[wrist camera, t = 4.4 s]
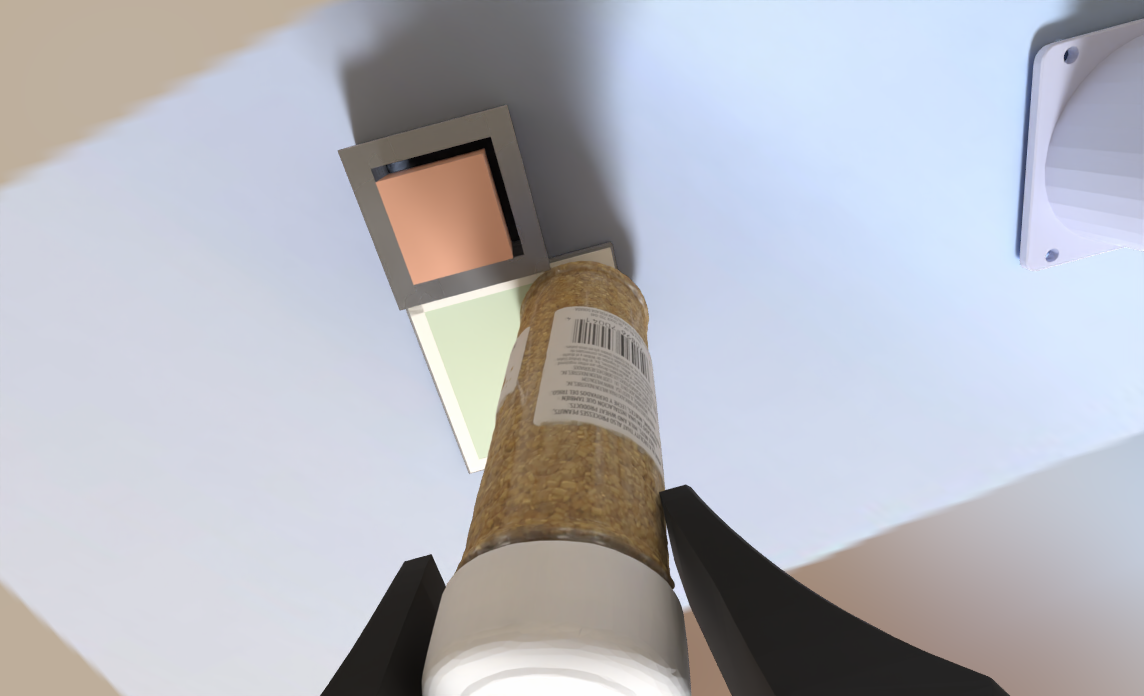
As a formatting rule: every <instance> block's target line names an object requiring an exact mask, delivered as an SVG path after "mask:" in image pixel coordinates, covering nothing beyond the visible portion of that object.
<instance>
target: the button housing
mask: <svg viewBox="0 0 1144 696" xmlns="http://www.w3.org/2000/svg"><path fill="white" fill-rule="evenodd" d="M488 137H491V139H492V143H493V146H494V150H495V153H496V157H497V160H498V164H499V167H500V171H501V174H502V178H503V181H504V185H505V188H506V192H507V195H508V199H509V203H510V206H511V210H512V213H513V217H514V220H515V224H516V227H517V231H518V234H519V238H520V240H518V241H514V242H512V249H513V258H512V259H508V260H505V261H501V262H497V263H494V264H490V265H486V266H482V267H479V268H475V269H471V270H467V271H464V272H460V273H456V274H453V275H449V276H445V277H441V278H438V279H434V280H430V281H427V282H423V283H419V284H415V285H414V284H413V282H412V279H411V276H410V274H409V271H408V268H407V266H406V263H405V260H404V257H403V255H402V252H401V249H400V247H399V244H398V241H397V239H396V236H395V233H394V231H393V228H392V225H391V222H390V220H389V217H388V214H387V212H386V209H385V206H384V204H383V201H382V198H381V196H380V193H379V190H378V187H377V185H376V182H377V181H378V180H380V179H381V178H383V177H384V176H386V175H388V174H389V173H388V170H387V167H386V165H387V164H391V163H394V162H398V161H402V160H406V159H409V158H413V157H417V156H420V155H424V154H428V153H432V152H435V151H439V150H443V149H447V148H450V147H454V146H458V145H462V144H465V143H469V142H473V141H476V140H480V139H484V138H488ZM338 153H339V155H340V158H341V161H342V163H343V166H344V168H345V171H346V173H347V176H348V179H349V181H350V184H351V186H352V189H353V191H354V194H355V197H356V199H357V202H358V204H359V207H360V209H361V212H362V215H363V217H364V220H365V222H366V225H367V227H368V230H369V233H370V235H371V238H372V240H373V243H374V245H375V248H376V251H377V253H378V256H379V258H380V261H381V263H382V266H383V269H384V271H385V274H386V276H387V279H388V281H389V284H390V287H391V289H392V292H393V294H394V297H395V299H396V302H397V305H398V307H399V310H404V309H407V308H411V307H415V306H418V305H422V304H426V303H430V302H433V301H437V300H441V299H444V298H448V297H452V296H456V295H459V294H463V293H467V292H470V291H474V290H478V289H482V288H485V287H489V286H493V285H496V284H500V283H504V282H508V281H511V280H515V279H519V278H522V277H526V276H530V275H534V274H537V273H541V272H545V271H548V270H551V266H550V263H549V259H548V255H547V251H546V248H545V244H544V240H543V236H542V233H541V229H540V225H539V221H538V218H537V214H536V210H535V207H534V203H533V199H532V195H531V192H530V188H529V184H528V180H527V177H526V173H525V169H524V165H523V162H522V158H521V154H520V150H519V147H518V143H517V139H516V136H515V132H514V128H513V124H512V121H511V117H510V113H509V109H508V106H507V105H503V106H499V107H495V108H492V109H488V110H484V111H481V112H477V113H473V114H469V115H466V116H462V117H458V118H454V119H451V120H447V121H443V122H439V123H436V124H432V125H428V126H425V127H421V128H417V129H413V130H410V131H406V132H402V133H398V134H395V135H391V136H387V137H383V138H380V139H376V140H372V141H369V142H365V143H361V144H357V145H354V146H351V147H347V148H344V149H341V150H338Z"/></svg>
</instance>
